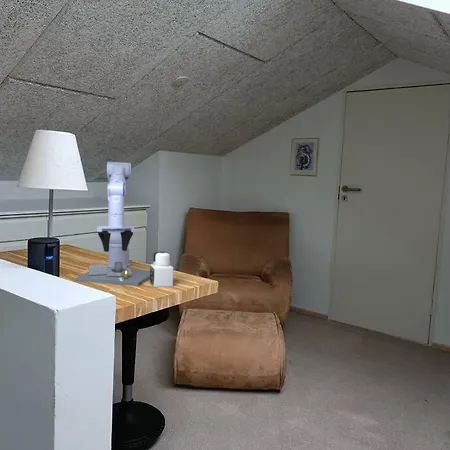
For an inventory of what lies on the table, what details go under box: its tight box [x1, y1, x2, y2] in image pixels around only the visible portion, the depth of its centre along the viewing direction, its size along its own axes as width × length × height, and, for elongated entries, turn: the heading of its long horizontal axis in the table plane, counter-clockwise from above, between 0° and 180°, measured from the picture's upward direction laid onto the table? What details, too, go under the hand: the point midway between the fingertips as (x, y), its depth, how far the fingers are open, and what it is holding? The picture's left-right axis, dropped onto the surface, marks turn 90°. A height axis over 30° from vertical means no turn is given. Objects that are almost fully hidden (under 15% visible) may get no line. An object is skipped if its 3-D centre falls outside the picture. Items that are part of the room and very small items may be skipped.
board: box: [75, 262, 150, 287], centre depth 172 cm, size 20×24×6 cm
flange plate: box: [88, 263, 132, 277], centre depth 171 cm, size 15×9×4 cm, turn 109°
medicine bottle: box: [149, 251, 174, 288], centre depth 164 cm, size 7×7×12 cm
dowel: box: [124, 270, 129, 279], centre depth 166 cm, size 2×2×3 cm
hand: (115, 251), depth 166 cm, fingers open, 7 cm apart
